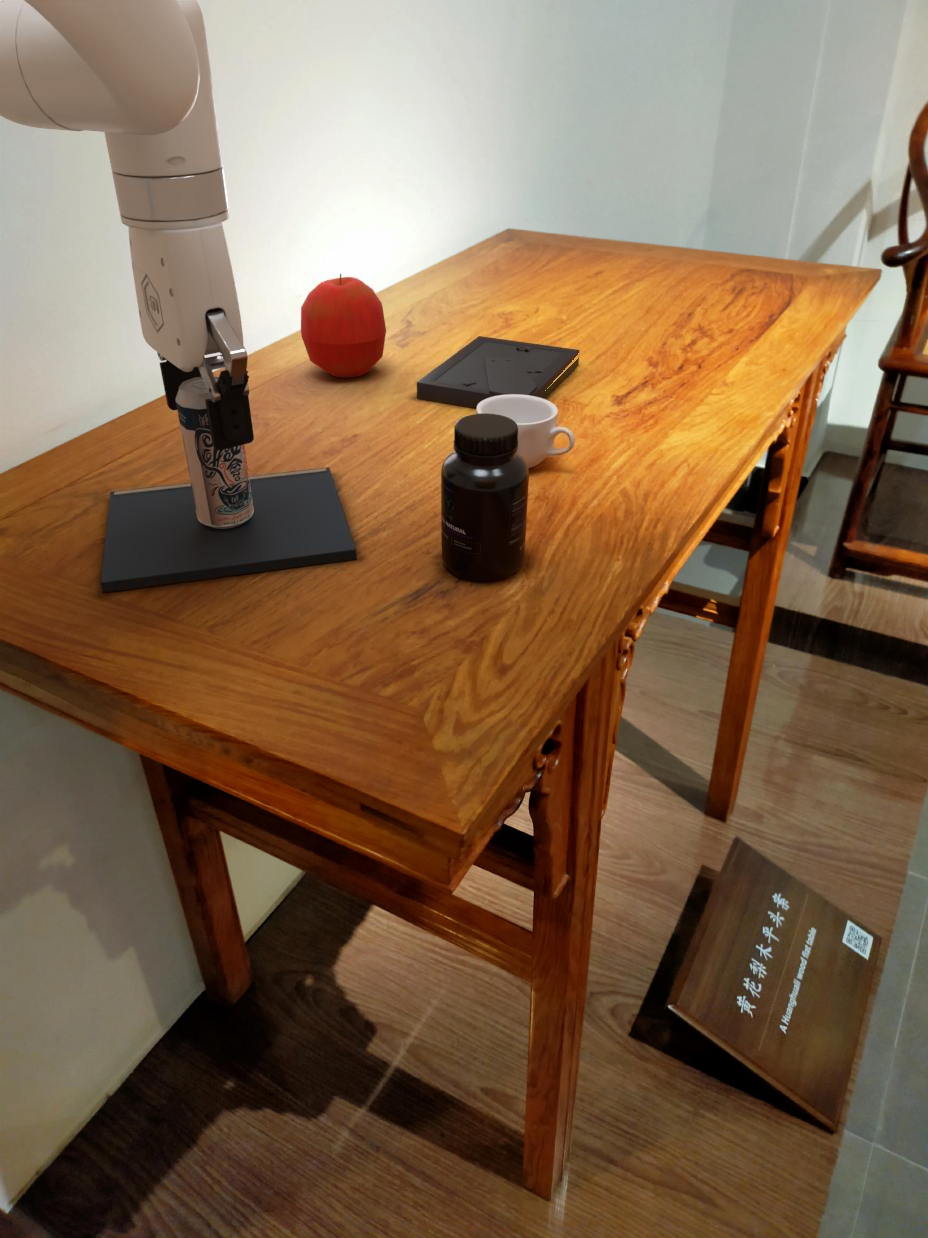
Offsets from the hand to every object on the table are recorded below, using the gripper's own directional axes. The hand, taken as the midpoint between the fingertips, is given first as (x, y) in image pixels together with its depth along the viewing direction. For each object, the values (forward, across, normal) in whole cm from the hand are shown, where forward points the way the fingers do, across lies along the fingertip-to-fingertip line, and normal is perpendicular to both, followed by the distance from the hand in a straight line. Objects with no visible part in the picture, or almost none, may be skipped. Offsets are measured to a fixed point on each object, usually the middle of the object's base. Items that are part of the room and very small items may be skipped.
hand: (209, 424), depth 76 cm
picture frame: (+10, -15, +41) cm, 45 cm away
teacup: (+10, +4, +30) cm, 31 cm away
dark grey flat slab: (+10, 0, 0) cm, 10 cm away
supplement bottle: (+10, +17, +15) cm, 25 cm away
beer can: (+9, 0, 0) cm, 9 cm away
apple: (+10, -28, +28) cm, 41 cm away
